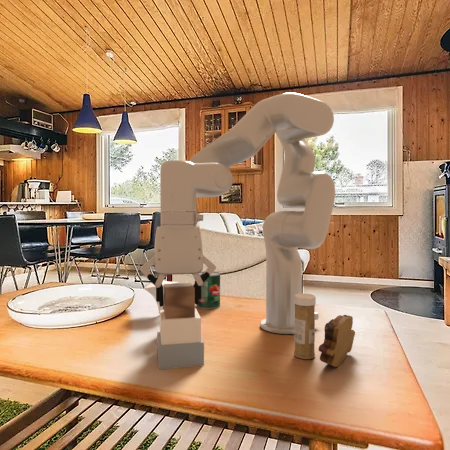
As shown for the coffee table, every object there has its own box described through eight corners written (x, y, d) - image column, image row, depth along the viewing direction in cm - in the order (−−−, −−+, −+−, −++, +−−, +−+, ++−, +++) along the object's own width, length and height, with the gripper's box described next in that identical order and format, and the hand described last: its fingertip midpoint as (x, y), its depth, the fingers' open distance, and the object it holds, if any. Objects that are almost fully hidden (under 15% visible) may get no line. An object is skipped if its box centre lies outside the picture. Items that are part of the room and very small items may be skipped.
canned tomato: (219, 309, 121) (220, 275, 121) (195, 309, 121) (195, 275, 121) (220, 303, 129) (220, 271, 129) (197, 303, 129) (197, 271, 129)
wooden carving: (335, 348, 87) (336, 305, 86) (355, 352, 84) (356, 308, 84) (313, 375, 72) (314, 324, 72) (337, 380, 70) (338, 327, 70)
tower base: (197, 350, 86) (197, 329, 86) (203, 366, 77) (203, 342, 77) (157, 353, 84) (157, 331, 84) (159, 370, 75) (159, 345, 75)
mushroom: (136, 315, 113) (135, 276, 113) (163, 308, 121) (163, 271, 121) (158, 322, 106) (157, 280, 106) (185, 314, 114) (185, 275, 114)
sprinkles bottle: (318, 359, 80) (319, 296, 80) (298, 360, 79) (299, 297, 79) (309, 351, 85) (309, 292, 84) (290, 352, 84) (290, 293, 83)
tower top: (195, 330, 85) (195, 308, 85) (201, 342, 77) (201, 318, 77) (160, 332, 83) (160, 310, 83) (161, 344, 75) (161, 320, 75)
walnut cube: (191, 309, 83) (191, 282, 83) (194, 317, 77) (194, 288, 77) (163, 311, 82) (163, 284, 82) (165, 319, 76) (165, 289, 76)
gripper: (215, 219, 85) (215, 298, 85) (136, 219, 81) (137, 302, 81) (222, 220, 77) (222, 306, 78) (136, 220, 73) (136, 311, 74)
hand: (178, 303), depth 80 cm, fingers open, 6 cm apart
